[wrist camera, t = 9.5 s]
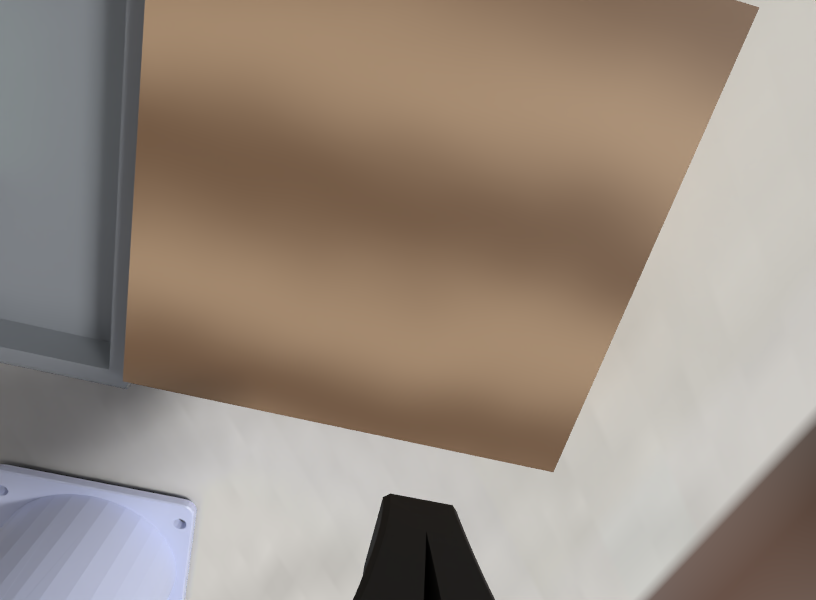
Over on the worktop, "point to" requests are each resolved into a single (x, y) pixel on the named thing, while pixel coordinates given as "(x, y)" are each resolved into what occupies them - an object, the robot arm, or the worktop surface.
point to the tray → (67, 182)
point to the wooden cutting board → (409, 203)
